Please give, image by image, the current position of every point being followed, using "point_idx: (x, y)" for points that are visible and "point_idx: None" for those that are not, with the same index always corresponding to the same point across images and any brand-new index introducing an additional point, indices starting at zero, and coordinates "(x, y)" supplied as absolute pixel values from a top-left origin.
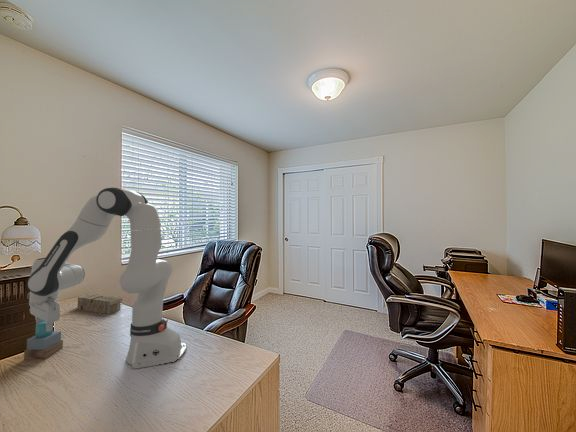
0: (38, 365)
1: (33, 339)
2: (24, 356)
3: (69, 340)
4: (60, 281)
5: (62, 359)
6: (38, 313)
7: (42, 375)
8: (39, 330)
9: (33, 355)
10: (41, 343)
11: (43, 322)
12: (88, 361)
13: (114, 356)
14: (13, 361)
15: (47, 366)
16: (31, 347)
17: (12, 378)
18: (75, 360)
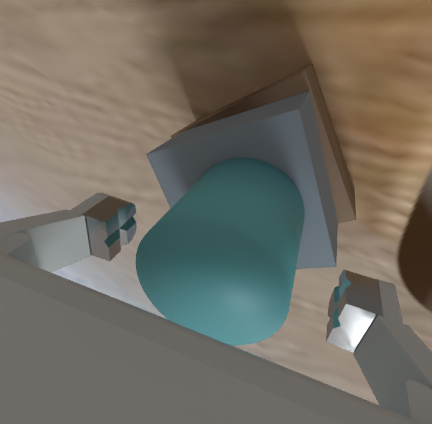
0: (154, 64)
1: (231, 128)
2: (306, 67)
3: (306, 284)
4: None
5: (123, 143)
6: (114, 417)
7: (36, 18)
8: (189, 194)
9: (250, 95)
10: (181, 139)
11: (244, 303)
12: (30, 163)
13: (9, 208)
14: (369, 19)
15: (107, 77)
16: (264, 106)
17: None
18: (72, 154)
